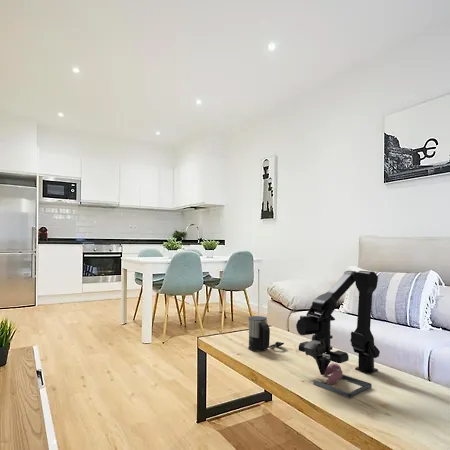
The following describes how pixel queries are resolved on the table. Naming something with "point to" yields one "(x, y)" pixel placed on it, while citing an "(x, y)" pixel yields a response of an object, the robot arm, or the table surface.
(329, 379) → the video game controller
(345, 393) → the metal bay
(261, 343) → the milk frother
